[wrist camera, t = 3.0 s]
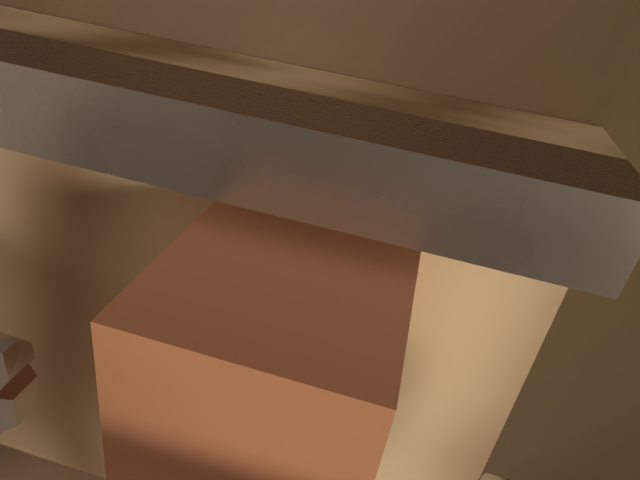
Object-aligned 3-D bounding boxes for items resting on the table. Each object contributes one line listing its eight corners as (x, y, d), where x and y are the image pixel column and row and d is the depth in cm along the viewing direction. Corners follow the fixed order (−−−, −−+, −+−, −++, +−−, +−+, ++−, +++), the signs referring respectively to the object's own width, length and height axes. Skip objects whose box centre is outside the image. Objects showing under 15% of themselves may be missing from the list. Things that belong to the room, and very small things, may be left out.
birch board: (602, 127, 11) (665, 207, 7) (431, 526, 18) (423, 662, 14) (-268, -49, 14) (-511, -52, 10) (-119, 350, 21) (-235, 428, 17)
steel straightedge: (628, 159, 9) (665, 207, 7) (590, 239, 10) (616, 299, 8) (-372, -50, 12) (-511, -52, 10) (-338, 24, 13) (-462, 34, 11)
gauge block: (424, 224, 10) (396, 410, 6) (376, 401, 13) (331, 619, 9) (236, 180, 11) (89, 321, 7) (224, 356, 14) (112, 542, 9)
